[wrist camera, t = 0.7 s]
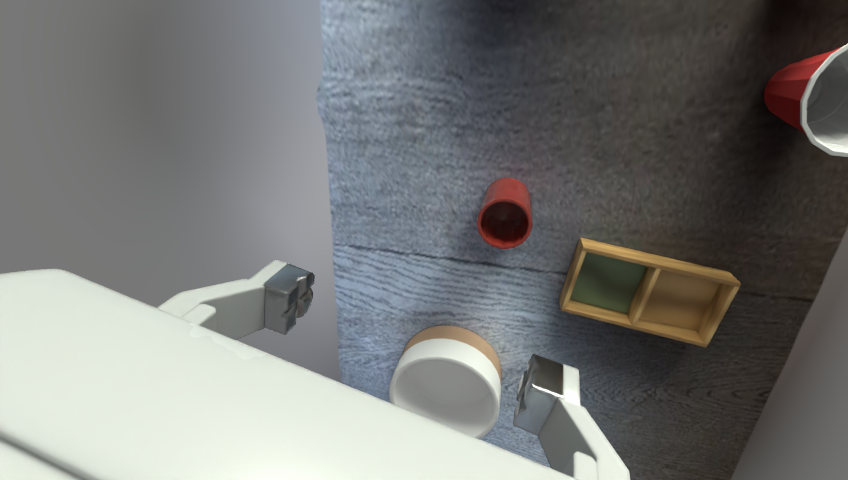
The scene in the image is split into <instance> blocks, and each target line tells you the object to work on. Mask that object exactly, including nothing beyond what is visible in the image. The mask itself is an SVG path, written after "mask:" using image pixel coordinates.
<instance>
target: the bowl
mask: <svg viewBox="0 0 848 480" xmlns="http://www.w3.org/2000/svg"><path fill="white" fill-rule="evenodd" d="M501 376H502V371H501V364H500V361H499V359H498V356H497V354H496V353H495V351H494V350H493V348H492V347H491V346H490V345H489V344H488V343H487V342H486V341H485V340H484V339H483V338H481V337H480V336H479V335H477V334H475V333H473V332H471V331H469V330H467V329H464V328H460V327H456V326H449V325H446V326H435V327H430V328H427V329H425V330H422V331H420V332H419V333H417V334H416V335H415V336H413V337H412V338H411V339H410V341H409V342H408V343H407V345H406V347H405V348H404V351H403V353H402V356H401V358H400V360H399V362H398V365H397V367H396V369H395V372H394V374H393V377H392V379H391V383H390V387H389V398H390V402H391V404H394V405H396V406H399V407H401V408H404V409H406V410H408V411H411V412H413V413H416V414H418V415H421V416H423V417H426V418H428V419H431V420H433V421H435V422H438V423H440V424H443V425H445V426H448V427H450V428H453V429H455V430H458V431H460V432H463V433H465V434H467V435H470V436H472V437H475V438H477V439H480V438H482V437H484V436H485V435H486V434H487V433H488V432H490V430H491V429H492V428H493V426H494V425H495V424H496V421H497V419H498V416H499V409H500V396H501Z"/></svg>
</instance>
